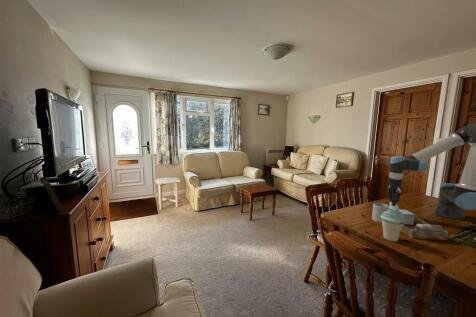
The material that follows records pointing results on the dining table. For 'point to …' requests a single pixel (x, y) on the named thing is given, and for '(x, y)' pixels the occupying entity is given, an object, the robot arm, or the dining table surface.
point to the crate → (408, 217)
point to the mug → (378, 211)
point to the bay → (425, 230)
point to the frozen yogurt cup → (392, 223)
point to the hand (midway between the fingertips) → (391, 210)
